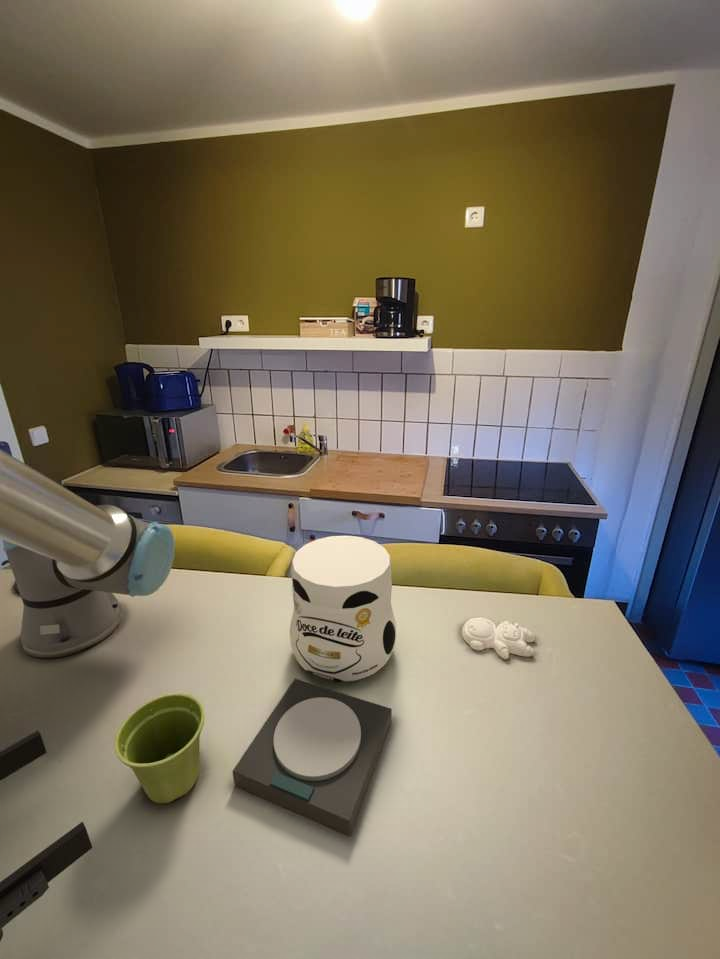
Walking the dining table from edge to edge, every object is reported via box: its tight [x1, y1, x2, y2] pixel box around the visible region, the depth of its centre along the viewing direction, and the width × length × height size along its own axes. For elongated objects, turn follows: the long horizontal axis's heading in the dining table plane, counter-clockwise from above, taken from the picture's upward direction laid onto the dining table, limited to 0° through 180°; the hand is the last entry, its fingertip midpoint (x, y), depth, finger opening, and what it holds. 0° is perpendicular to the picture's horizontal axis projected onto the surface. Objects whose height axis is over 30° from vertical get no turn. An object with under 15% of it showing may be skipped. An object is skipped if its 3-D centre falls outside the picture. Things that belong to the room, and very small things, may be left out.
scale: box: [231, 677, 393, 837], centre depth 55 cm, size 15×15×3 cm
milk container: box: [289, 535, 397, 684], centre depth 69 cm, size 17×17×18 cm
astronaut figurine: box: [461, 616, 536, 660], centre depth 74 cm, size 9×12×3 cm
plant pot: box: [114, 692, 206, 804], centre depth 50 cm, size 9×9×9 cm
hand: (63, 782), depth 42 cm, fingers open, 13 cm apart
